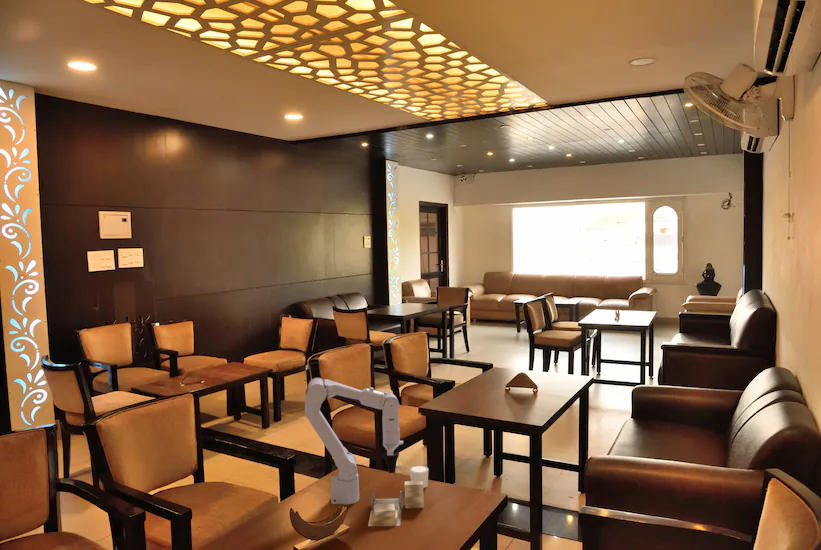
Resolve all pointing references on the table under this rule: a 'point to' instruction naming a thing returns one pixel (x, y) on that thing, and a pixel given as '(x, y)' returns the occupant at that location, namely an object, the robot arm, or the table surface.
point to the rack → (396, 502)
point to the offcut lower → (384, 519)
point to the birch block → (414, 494)
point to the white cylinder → (419, 474)
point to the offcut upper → (384, 511)
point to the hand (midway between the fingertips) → (392, 467)
